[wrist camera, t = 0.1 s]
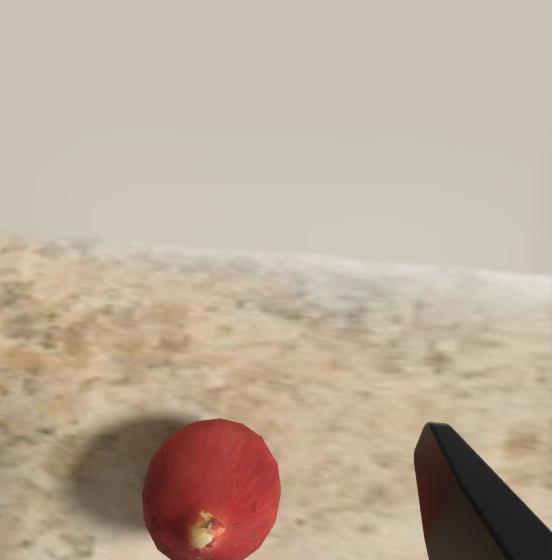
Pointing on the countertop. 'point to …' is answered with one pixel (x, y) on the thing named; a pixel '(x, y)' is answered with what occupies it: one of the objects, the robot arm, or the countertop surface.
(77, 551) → the countertop surface
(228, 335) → the countertop surface
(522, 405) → the countertop surface
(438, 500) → the robot arm
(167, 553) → the onion
